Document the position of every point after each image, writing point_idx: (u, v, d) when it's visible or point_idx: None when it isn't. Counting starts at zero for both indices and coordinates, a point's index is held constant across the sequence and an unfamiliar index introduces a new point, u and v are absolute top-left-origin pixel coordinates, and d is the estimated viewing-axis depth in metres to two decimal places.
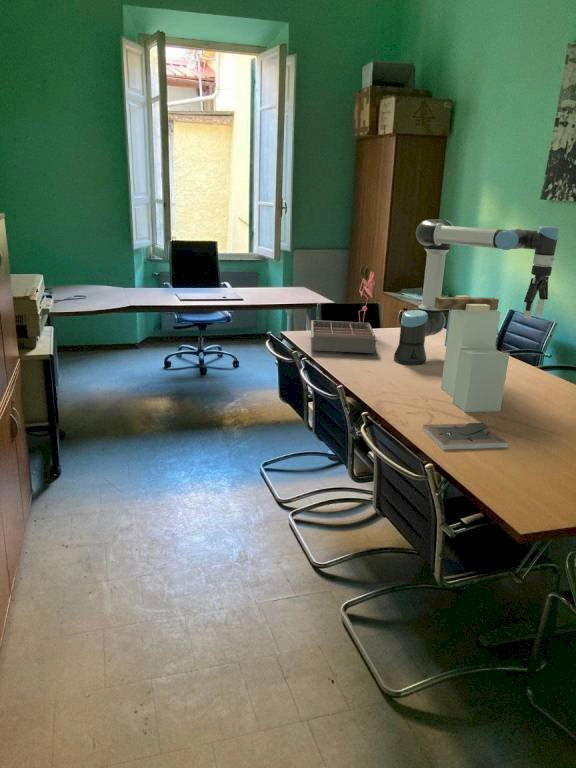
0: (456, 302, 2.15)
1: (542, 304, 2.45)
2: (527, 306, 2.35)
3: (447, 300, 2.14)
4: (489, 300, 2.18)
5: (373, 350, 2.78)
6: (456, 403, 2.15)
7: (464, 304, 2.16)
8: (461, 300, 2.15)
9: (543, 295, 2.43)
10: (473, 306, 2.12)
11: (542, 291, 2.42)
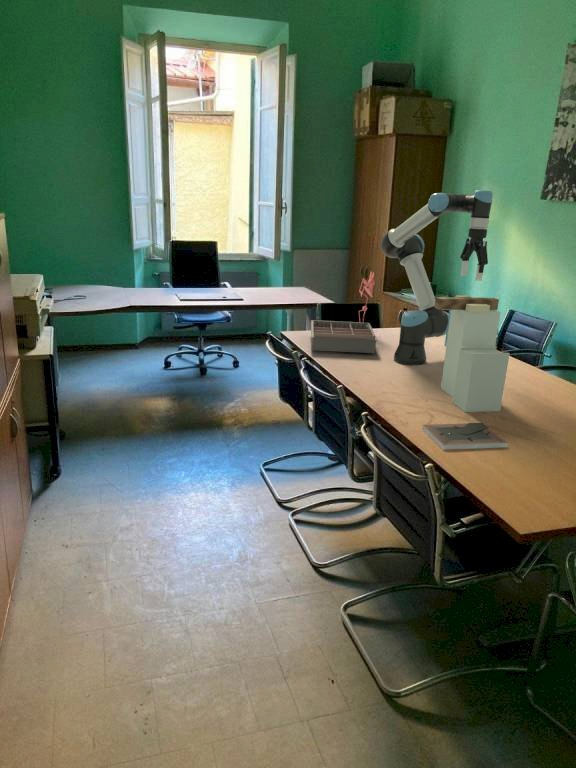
0: (456, 302, 2.15)
1: (467, 265, 2.57)
2: (481, 268, 2.43)
3: (447, 300, 2.14)
4: (489, 300, 2.18)
5: (373, 350, 2.78)
6: (456, 403, 2.15)
7: (464, 304, 2.16)
8: (461, 300, 2.15)
9: (468, 257, 2.55)
10: (473, 306, 2.12)
11: (470, 253, 2.53)
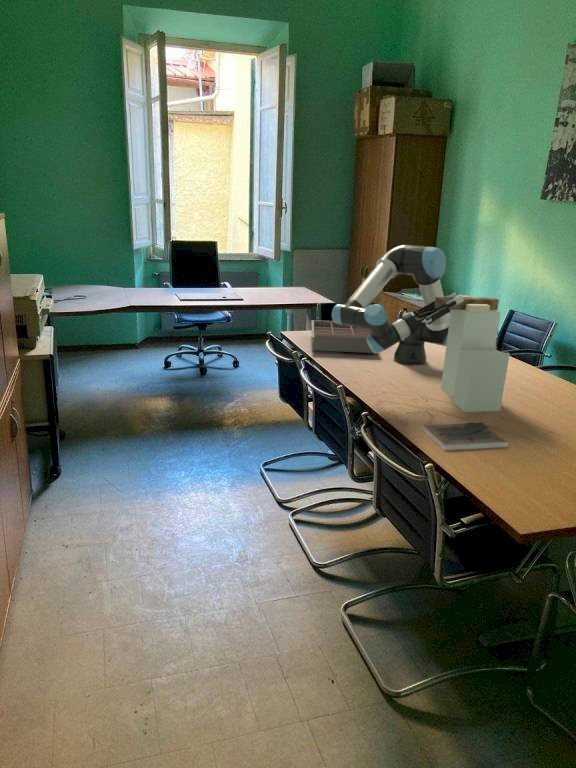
0: None
1: None
2: None
3: (447, 300, 2.14)
4: (489, 300, 2.18)
5: None
6: (456, 403, 2.15)
7: (464, 304, 2.16)
8: None
9: None
10: (473, 306, 2.12)
11: None
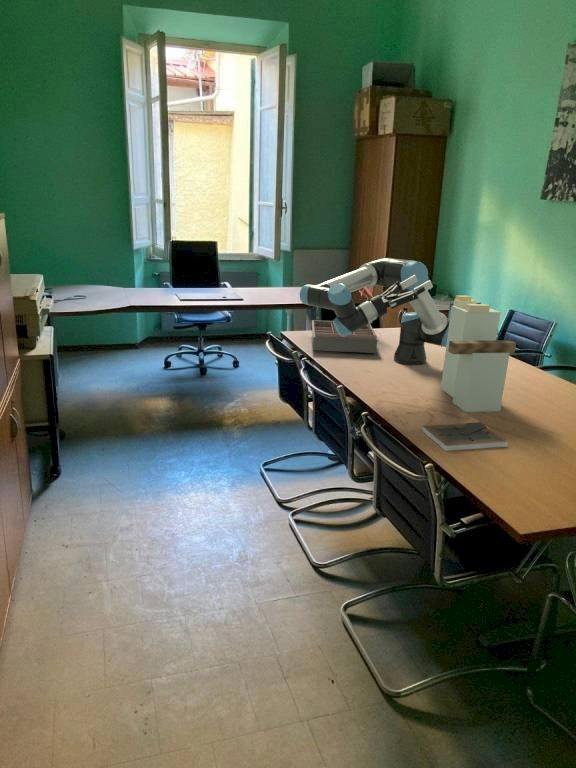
0: (472, 346, 2.05)
1: None
2: None
3: (462, 344, 2.04)
4: (506, 344, 2.07)
5: (374, 350, 2.78)
6: (456, 403, 2.15)
7: (480, 348, 2.05)
8: (476, 344, 2.05)
9: None
10: (473, 306, 2.12)
11: None
